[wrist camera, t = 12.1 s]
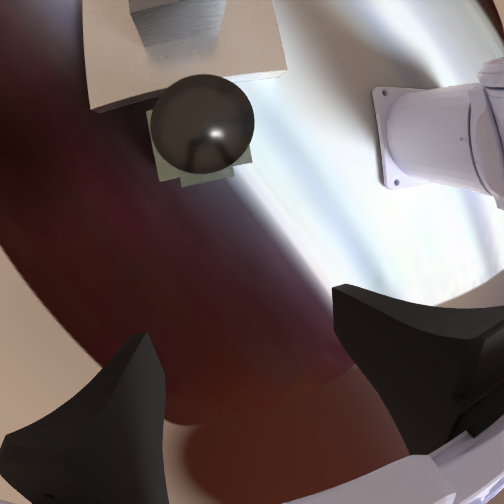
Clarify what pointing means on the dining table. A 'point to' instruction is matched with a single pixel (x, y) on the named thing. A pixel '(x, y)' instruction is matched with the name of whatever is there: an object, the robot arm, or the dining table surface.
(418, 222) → the dining table surface
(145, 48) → the plate
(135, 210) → the dining table surface
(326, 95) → the dining table surface
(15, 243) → the dining table surface
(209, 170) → the press ram
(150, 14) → the housing
